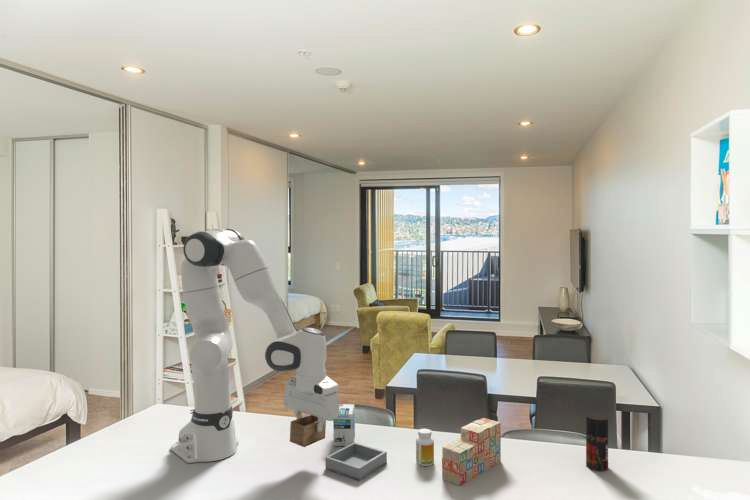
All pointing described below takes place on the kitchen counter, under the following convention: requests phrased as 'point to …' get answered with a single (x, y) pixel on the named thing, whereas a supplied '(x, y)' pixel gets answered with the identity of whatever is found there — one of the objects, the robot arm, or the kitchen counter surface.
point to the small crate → (306, 431)
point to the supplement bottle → (424, 448)
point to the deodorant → (597, 442)
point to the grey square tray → (356, 461)
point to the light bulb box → (344, 425)
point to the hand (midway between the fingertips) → (309, 427)
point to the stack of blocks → (472, 451)
